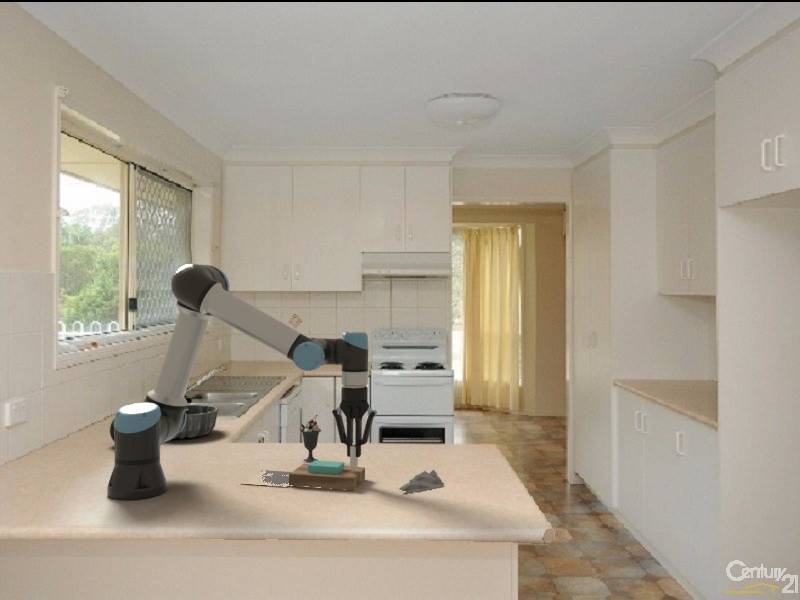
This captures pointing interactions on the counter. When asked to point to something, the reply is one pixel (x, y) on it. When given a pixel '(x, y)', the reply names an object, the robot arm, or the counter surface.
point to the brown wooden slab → (327, 478)
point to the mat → (276, 477)
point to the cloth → (423, 483)
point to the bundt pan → (198, 421)
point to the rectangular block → (326, 467)
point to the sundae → (310, 437)
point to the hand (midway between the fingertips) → (353, 468)
